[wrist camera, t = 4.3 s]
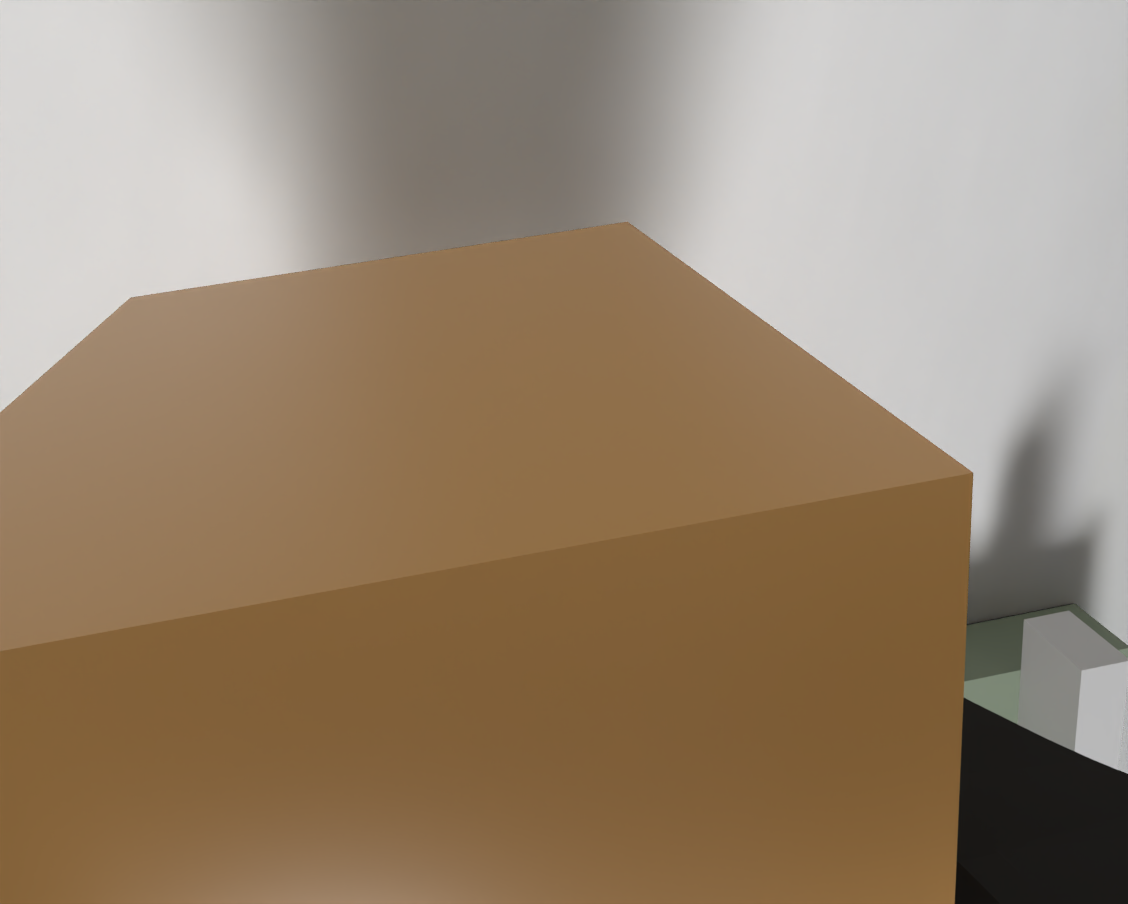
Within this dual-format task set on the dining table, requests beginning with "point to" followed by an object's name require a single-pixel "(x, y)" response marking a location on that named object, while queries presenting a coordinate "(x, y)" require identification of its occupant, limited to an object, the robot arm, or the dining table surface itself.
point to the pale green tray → (1052, 678)
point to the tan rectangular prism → (474, 599)
